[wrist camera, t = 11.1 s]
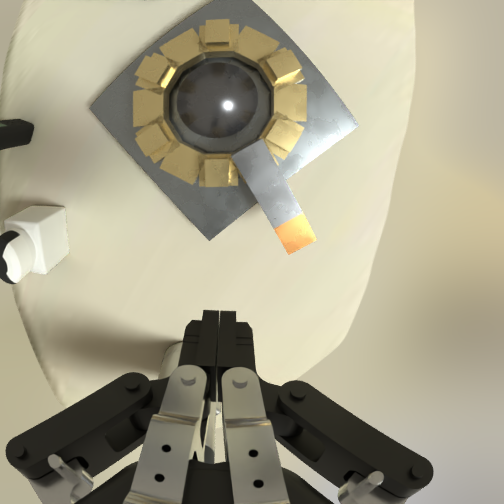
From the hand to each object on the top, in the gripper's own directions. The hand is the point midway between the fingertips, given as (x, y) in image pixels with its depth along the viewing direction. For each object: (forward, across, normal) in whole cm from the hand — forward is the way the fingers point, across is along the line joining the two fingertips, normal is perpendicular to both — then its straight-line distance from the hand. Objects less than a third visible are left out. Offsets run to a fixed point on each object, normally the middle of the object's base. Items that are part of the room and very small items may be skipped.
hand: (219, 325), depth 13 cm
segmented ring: (+18, -1, -8) cm, 20 cm away
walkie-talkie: (+23, +31, -11) cm, 40 cm away
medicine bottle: (+23, +27, +4) cm, 36 cm away
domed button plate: (+23, +2, -12) cm, 26 cm away
